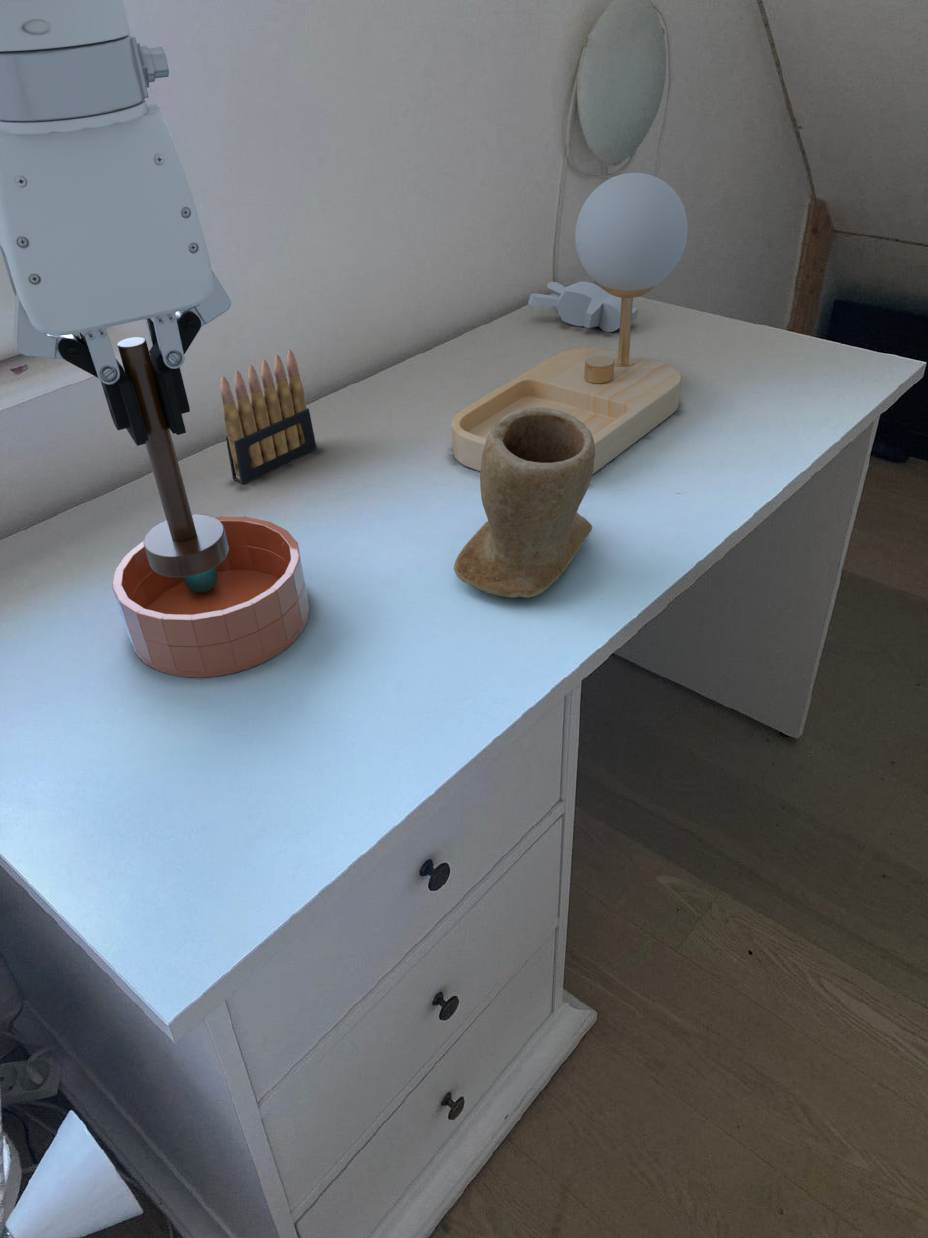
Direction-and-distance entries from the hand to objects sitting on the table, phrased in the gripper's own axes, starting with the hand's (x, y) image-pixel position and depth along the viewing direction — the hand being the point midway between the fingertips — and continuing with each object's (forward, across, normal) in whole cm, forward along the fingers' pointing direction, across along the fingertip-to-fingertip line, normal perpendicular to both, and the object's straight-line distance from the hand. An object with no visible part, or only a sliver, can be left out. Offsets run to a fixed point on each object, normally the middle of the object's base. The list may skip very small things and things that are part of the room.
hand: (155, 429), depth 57 cm
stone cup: (+26, -32, -7) cm, 41 cm away
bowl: (+25, -3, -14) cm, 29 cm away
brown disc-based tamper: (+9, 0, 0) cm, 9 cm away
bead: (+25, -3, -19) cm, 31 cm away
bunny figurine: (+26, -72, -56) cm, 94 cm away
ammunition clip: (+26, -18, -40) cm, 51 cm away
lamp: (+26, -52, -29) cm, 65 cm away
